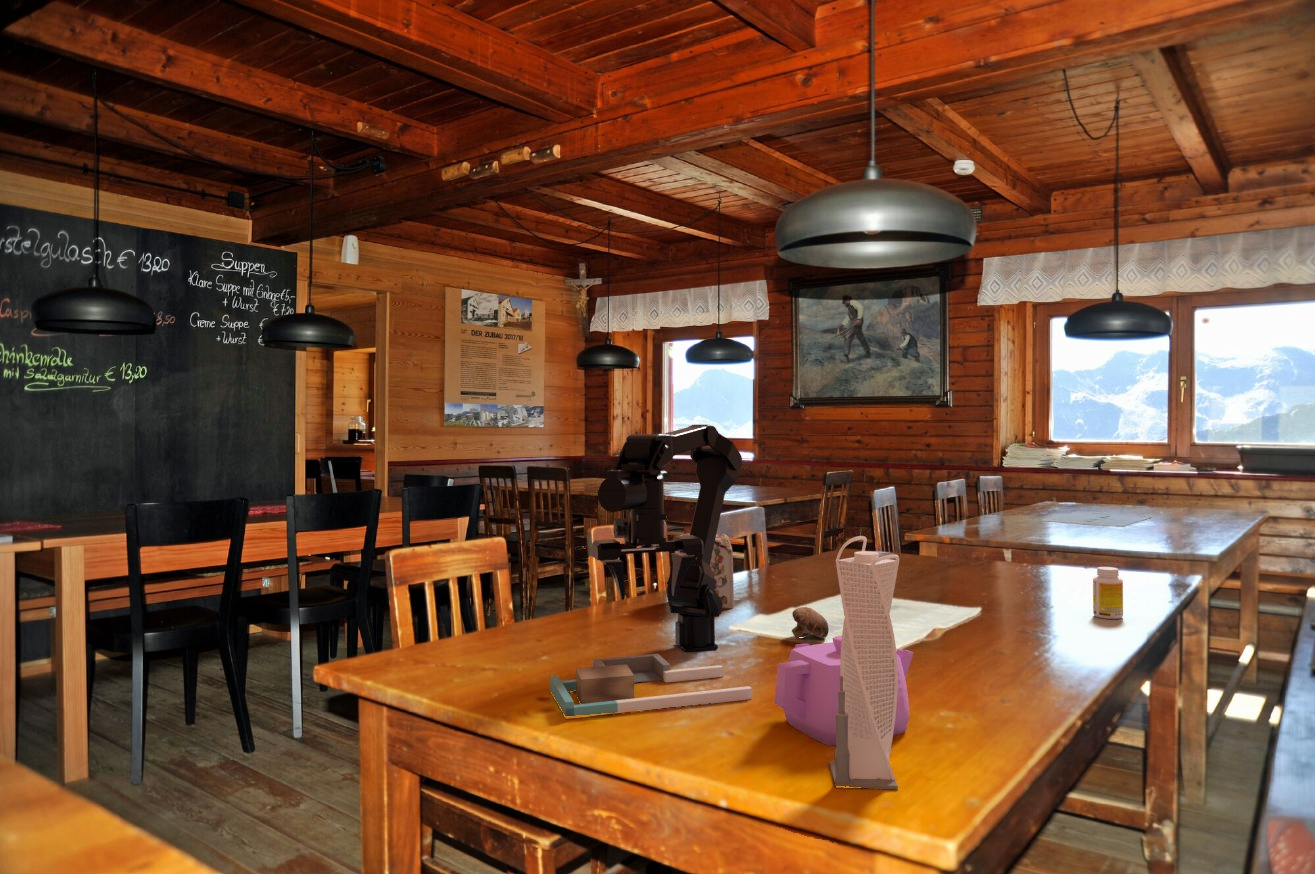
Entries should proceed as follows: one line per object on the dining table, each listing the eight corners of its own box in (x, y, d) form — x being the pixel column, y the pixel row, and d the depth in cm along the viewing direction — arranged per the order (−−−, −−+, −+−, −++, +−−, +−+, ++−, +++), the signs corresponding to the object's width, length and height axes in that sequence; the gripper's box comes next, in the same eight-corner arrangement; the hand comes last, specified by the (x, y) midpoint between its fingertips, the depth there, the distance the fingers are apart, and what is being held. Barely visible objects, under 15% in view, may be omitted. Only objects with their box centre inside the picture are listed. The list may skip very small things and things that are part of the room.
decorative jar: (676, 600, 206) (674, 524, 206) (724, 598, 208) (723, 522, 207) (683, 610, 194) (681, 530, 194) (734, 608, 196) (733, 528, 195)
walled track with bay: (706, 663, 152) (706, 648, 152) (752, 698, 132) (751, 682, 132) (543, 679, 144) (542, 664, 144) (565, 719, 124) (565, 702, 124)
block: (627, 692, 137) (626, 664, 137) (634, 704, 131) (634, 675, 131) (576, 697, 135) (575, 668, 135) (581, 709, 129) (581, 679, 129)
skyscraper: (828, 759, 109) (825, 534, 108) (894, 760, 108) (892, 534, 107) (835, 787, 100) (833, 544, 100) (907, 789, 99) (905, 544, 99)
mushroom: (778, 623, 167) (796, 596, 168) (787, 630, 174) (805, 604, 175) (812, 648, 163) (831, 620, 164) (820, 654, 170) (838, 628, 171)
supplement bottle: (1129, 618, 181) (1129, 569, 181) (1106, 620, 180) (1105, 571, 179) (1109, 613, 186) (1109, 565, 186) (1087, 614, 185) (1086, 566, 185)
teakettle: (771, 740, 115) (770, 647, 115) (796, 701, 131) (796, 619, 131) (904, 756, 109) (903, 658, 109) (914, 713, 125) (913, 627, 125)
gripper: (684, 500, 160) (685, 585, 161) (584, 504, 155) (585, 592, 155) (704, 506, 150) (705, 597, 150) (597, 510, 144) (599, 605, 145)
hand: (648, 597), depth 150 cm, fingers open, 9 cm apart
